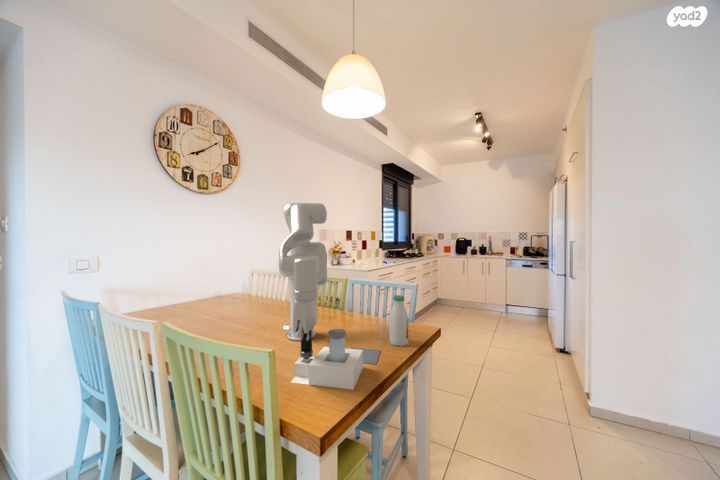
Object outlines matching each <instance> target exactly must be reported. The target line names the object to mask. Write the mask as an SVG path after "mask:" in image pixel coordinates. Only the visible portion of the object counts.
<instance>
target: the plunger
mask: <svg viewBox="0 0 720 480" xmlns="http://www.w3.org/2000/svg"><path fill="white" fill-rule="evenodd" d="M313 351H314V350H313V349H312V350H311V351H310V352H302V351H301V350H300V352H299V353H300V354H299V355H300V357H302V358H304V362H307V363H309V362H310V357H314V353H313Z"/></svg>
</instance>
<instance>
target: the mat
mask: <svg viewBox="0 0 720 480" xmlns="http://www.w3.org/2000/svg"><path fill="white" fill-rule="evenodd" d="M349 349H357V350H363V365H364V364H366V365H374V366H375V365H377V363H378V360H379V357H380V354H381V353H382V349H377V348H375V349H373V348H365V347H364V348H362V347H361V348H360V347H350V348H349Z"/></svg>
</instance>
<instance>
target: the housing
mask: <svg viewBox="0 0 720 480" xmlns="http://www.w3.org/2000/svg"><path fill="white" fill-rule="evenodd" d="M293 366H294V367H293V371H294V373H293V374H294V377H293V378H292V379H291V381H290V382H289V383H291V384H292V383H293V384H299V385H310V386H318V387H326V388H335V389H345V390H352V391H353V390H354V389H355V388H356V387H355V386H356V385H357V383H358V381H359V378H360V375H361V374H362V371H363V369H364V363H363V350H357V349H350V348H345V363H341V362H330V361H329V346H322V348H321V349H320V351H319V352H318V353H317V354H315V356H312V357H310V362H309V363H307V362H304V358H302V357H301V356H300V357H299V358H298V359H297V360H296V361H295V362H294V364H293Z"/></svg>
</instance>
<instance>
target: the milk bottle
mask: <svg viewBox="0 0 720 480" xmlns="http://www.w3.org/2000/svg"><path fill="white" fill-rule="evenodd" d="M392 302H393V305H392V309H391V310H390V313H389V343H390V345H391V346H393V347H405V346H407V345H408V344H409V315H408V312H407V309H406V307H405V296H403V295H398V294H397V295H393V297H392Z"/></svg>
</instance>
